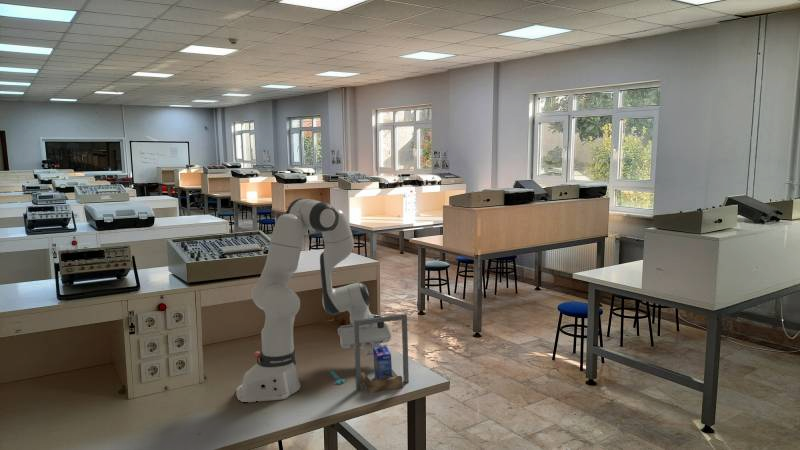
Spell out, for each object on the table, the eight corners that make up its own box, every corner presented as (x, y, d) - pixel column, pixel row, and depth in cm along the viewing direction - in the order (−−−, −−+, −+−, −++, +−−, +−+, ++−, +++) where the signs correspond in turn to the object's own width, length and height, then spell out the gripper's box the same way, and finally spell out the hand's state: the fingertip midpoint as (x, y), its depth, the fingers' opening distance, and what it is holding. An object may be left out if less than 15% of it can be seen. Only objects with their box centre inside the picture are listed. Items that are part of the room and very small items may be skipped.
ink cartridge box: (373, 377, 208) (372, 340, 206) (387, 375, 210) (386, 338, 208) (378, 388, 199) (376, 349, 197) (393, 386, 200) (392, 347, 198)
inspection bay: (370, 393, 194) (369, 382, 194) (360, 378, 207) (359, 368, 206) (402, 387, 198) (402, 377, 198) (390, 373, 211) (390, 363, 210)
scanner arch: (357, 391, 196) (354, 322, 193) (355, 388, 199) (353, 320, 195) (409, 382, 203) (407, 315, 199) (406, 380, 205) (405, 313, 201)
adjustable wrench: (348, 381, 204) (335, 383, 202) (348, 383, 204) (335, 386, 202) (336, 367, 216) (324, 370, 214) (336, 370, 217) (324, 372, 215)
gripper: (337, 322, 217) (344, 355, 210) (387, 315, 224) (395, 347, 216) (335, 330, 222) (342, 362, 214) (384, 323, 229) (392, 354, 221)
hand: (369, 354), depth 215 cm, fingers closed
